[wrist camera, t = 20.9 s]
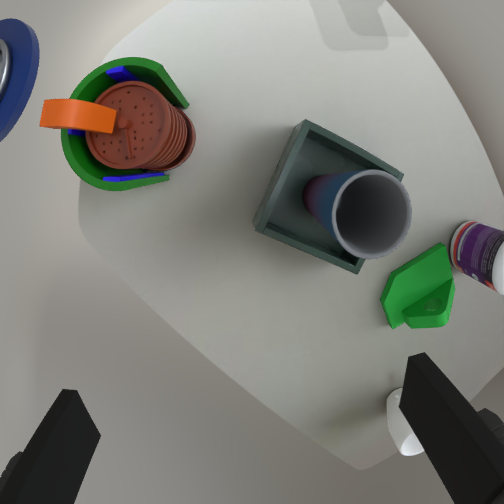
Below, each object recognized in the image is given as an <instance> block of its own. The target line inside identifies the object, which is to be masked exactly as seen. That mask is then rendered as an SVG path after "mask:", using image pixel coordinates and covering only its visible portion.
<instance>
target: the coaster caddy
mask: <svg viewBox="0 0 504 504" xmlns="http://www.w3.org/2000/svg"><path fill="white" fill-rule="evenodd" d="M172 104H175V105H179V106H181V107H183V108H185V109H186V108H187V107H188V106H189V104H188V102H187V101H186V99H185V98H184V96H183V95H182V93H181V92H180V90H179V89H178V88H177V86H176V85H175V83H174V82H173V80H172V79H171V77H170V76H169V75H168V73H167V72H166V70H165V69H164V67H163V66H162V65H161V64H159V63H157V62H155V61H152V60H149V59H146V58H139V57H127V58H120V59H116V60H113V61H110V62H108V63H105V64H103V65H101V66H100V67H98V68H96V69H95V70H93V71H92V72H91V73H90V74H88V75H87V76H86V77H85V78H84V79H83V80H82V81H81V82H80V84H79V85H78V86H77V87H76V89H75V90H74V91H73V93H72V95H71V97H70V98H69V99H51V100H45V101H44V105H43V110H42V115H41V120H40V127H48V128H53V129H61V141H62V147H63V151H64V154H65V157H66V159H67V161H68V163H69V165H70V166H71V168H72V169H73V171H74V172H75V173H76V174H77V175H78V176H79V177H80V178H81V179H82V180H84V181H85V182H87V183H88V184H90V185H92V186H94V187H97V188H99V189H103V190H109V191H124V190H129V189H133V188H137V187H142V186H146V185H150V184H155V183H159V182H164V181H168V180H169V175H164V173H158V172H150V173H148V172H146V171H145V170H143V169H142V168H146V169H149V170H154V171H164V170H170V169H174V168H176V167H178V166H180V165H181V164H182V163H184V162H185V161H186V160H187V159H188V157H189V156H190V155H191V153H192V151H193V148H194V145H195V139H196V135H195V129H194V126H193V124H192V122H191V121H190V119H189V118H188V117H187V116H186V115H185V113H184V112H182V111H181V110H180V109H178V108H176V107H173V106H172Z"/></svg>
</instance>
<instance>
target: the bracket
mask: <svg viewBox="0 0 504 504" xmlns="http://www.w3.org/2000/svg"><path fill="white" fill-rule="evenodd" d="M454 292H455V285H454V280H453V276H452V271H451V267H450V262H449V258H448V254H447V250H446V246H445V245H444V244H442V243H438V244H437V245H435V246H434V247H432V248H430V249H429V250H427V251H426V252H424V253H423V254H421V255H419V256H418V257H416V258H415V259H413V260H411V261H410V262H408V263H406V264H405V265H403V266H401V267H400V268H398V269H396V270H395V271H393V272H391V274H390V277H389V279H388V282H387V284H386V286H385V289H384V291H383V294H382V296H381V298H380V301H381V303H382V306H383V309H384V312H385V315H386V318H387V320H388V323H389V325H390V327H391V328H392V329H394V328H396V327H397V326H399V325H401V324H402V323H404V322H405V323H406V324H407V325H408V326H409V327H410V328H411V329H412V328H433V327H442V326H444V325H445V324H446V323H447V322H448V320H449V316H450V311H451V307H452V302H453V297H454ZM435 309H436V310H435ZM432 310H433V311H432Z"/></svg>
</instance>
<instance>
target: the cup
mask: <svg viewBox="0 0 504 504" xmlns="http://www.w3.org/2000/svg"><path fill="white" fill-rule="evenodd" d="M302 197H303V203H304V205H305V207H306V209H307V210H308V211H309V212H310V213H311V214H312V215H313V216H314V217H315V218H316V219H317V220H318V221H319V222H320V224H321V225H322V226H323V227H324V228H325V229H326V230H327V231H328V232H329V233H330V234H331V235H332V236H333V237H334V238H335V239H336V240H337V241H338V242H339V244H340V245H341V246H342V247H343V248H344V249H345V250H346V251H348V252H349V253H351V254H352V255H354V256H356V257H359V258H363V259H377V258H380V257H384V256H386V255H388V254H389V253H391V252H393V251H394V250H395V249H396V248H397V247H398V246H399V245H400V244H401V243H402V242H403V240H404V238H405V237H406V235H407V233H408V230H409V227H410V224H411V218H412V208H411V201H410V198H409V195H408V193H407V191H406V189H405V187H404V186H403V184H402V183H401V182H400V181H399V180H398V179H397V178H396V177H394V176H393V175H391V174H389V173H387V172H385V171H381V170H361V171H352V172H344V173H335V174H327V175H320V176H316V177H314V178H312V179H311V180H309V181H308V182H307V184H306V185H305V187H304V190H303V195H302Z"/></svg>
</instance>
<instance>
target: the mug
mask: <svg viewBox="0 0 504 504" xmlns="http://www.w3.org/2000/svg"><path fill="white" fill-rule="evenodd" d="M402 389H403V388H399V389H396V390H394V391H393V392H392V393H391V394H390V395H389V396H388V398H387V422H388V428H389V432H390V434H391V436H392V438H393V440H394V442H395V444H396V446H397V448H398V450H399V451H400V453H401V454H403V455H405V456H411V455H416V454H418V453H421V452H423V451H425V450H424V449H423V447H422V445H421V444H420V442H419V440H418V439H417V437H416V435H415V433H414V432H413V430H412V428H411V427H410V425H409V423H408V422H407V420H406V418H405V417H404V415H403V414H402V412H401V410H400V409H399V402H400V398H401V393H402Z"/></svg>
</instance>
